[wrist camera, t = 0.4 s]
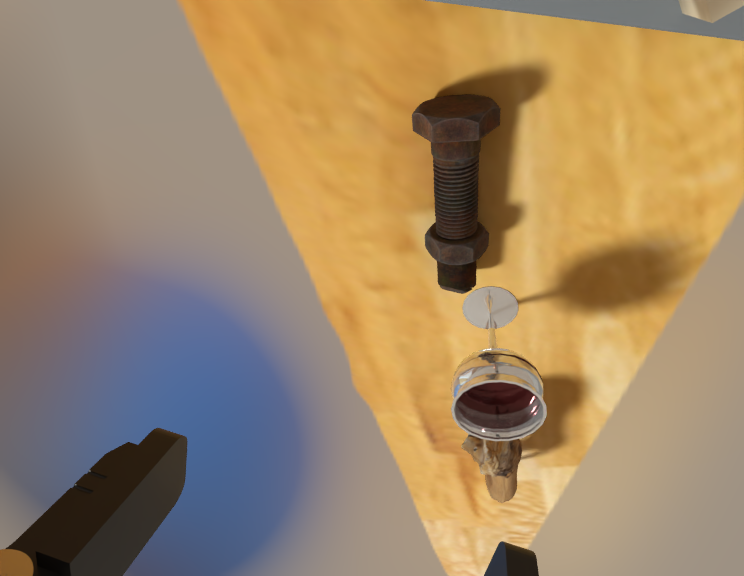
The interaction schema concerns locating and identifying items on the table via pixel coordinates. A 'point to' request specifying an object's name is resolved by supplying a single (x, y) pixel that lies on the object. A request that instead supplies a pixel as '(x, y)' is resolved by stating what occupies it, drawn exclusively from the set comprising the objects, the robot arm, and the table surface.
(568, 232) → the table surface
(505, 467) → the lion figurine
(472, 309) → the wineglass
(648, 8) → the board
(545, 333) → the table surface
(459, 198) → the bolt
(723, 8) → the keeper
